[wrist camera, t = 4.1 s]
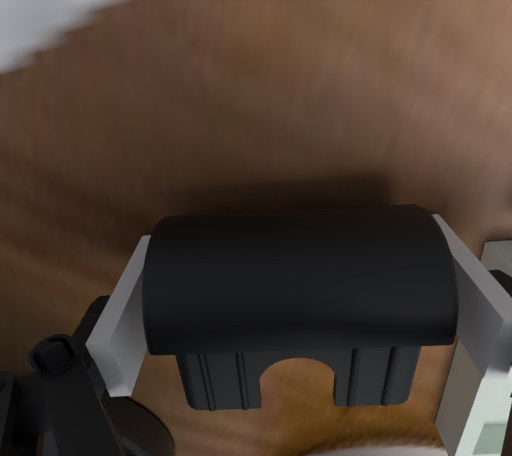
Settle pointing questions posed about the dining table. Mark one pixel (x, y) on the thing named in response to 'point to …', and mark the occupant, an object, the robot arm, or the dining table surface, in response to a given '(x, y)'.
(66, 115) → the dining table surface
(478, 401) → the pale green tray
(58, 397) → the robot arm
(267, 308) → the end cap
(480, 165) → the dining table surface
